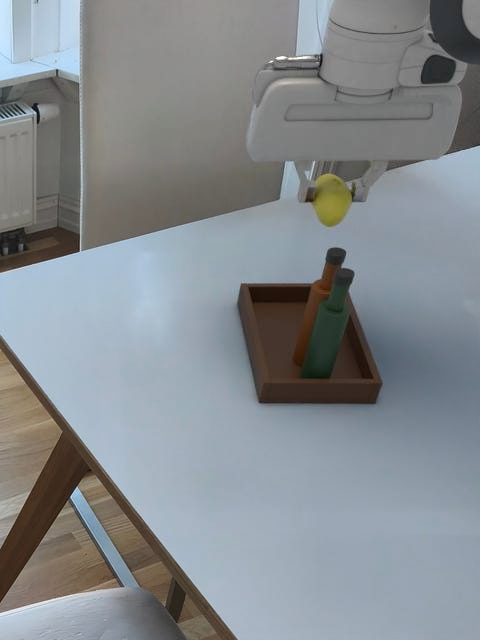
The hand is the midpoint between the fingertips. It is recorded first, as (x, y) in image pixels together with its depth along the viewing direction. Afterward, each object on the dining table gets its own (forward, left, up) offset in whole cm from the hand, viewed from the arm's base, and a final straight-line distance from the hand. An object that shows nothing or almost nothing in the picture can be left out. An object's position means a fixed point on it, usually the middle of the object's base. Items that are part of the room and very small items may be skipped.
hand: (331, 200), depth 95 cm
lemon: (0, 0, -2) cm, 2 cm away
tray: (+1, +6, -15) cm, 16 cm away
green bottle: (+1, +13, -14) cm, 19 cm away
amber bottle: (+1, +9, -14) cm, 17 cm away
